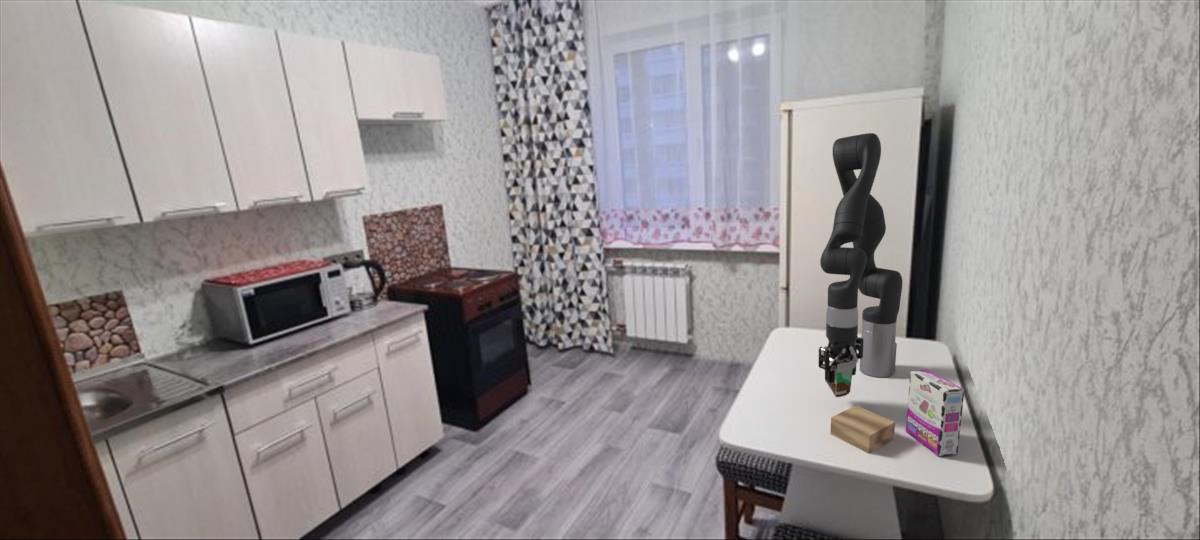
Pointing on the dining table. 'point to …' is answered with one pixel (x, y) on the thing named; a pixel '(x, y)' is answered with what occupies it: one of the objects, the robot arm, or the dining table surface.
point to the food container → (842, 376)
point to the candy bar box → (934, 412)
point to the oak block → (862, 428)
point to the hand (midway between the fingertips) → (840, 378)
